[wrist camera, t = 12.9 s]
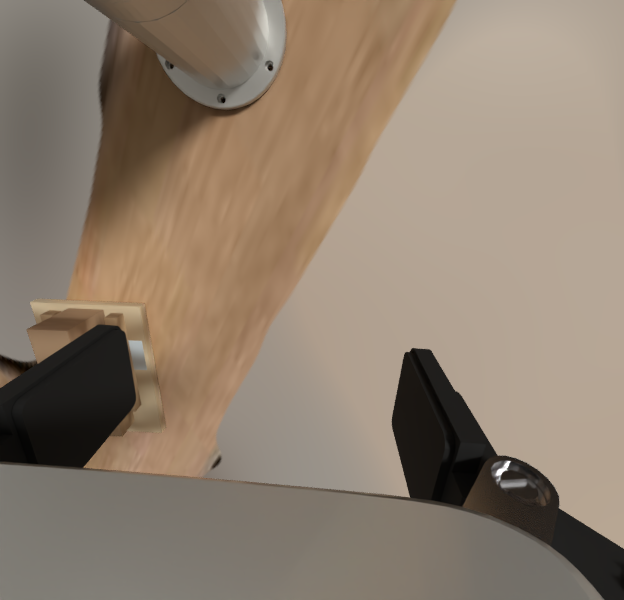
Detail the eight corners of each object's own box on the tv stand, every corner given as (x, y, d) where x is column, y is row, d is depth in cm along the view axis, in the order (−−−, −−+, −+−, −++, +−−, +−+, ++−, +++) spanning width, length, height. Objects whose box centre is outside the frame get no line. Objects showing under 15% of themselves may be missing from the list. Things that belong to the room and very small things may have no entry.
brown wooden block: (68, 308, 40) (26, 329, 35) (103, 309, 40) (67, 331, 35) (92, 399, 45) (59, 431, 40) (123, 401, 45) (95, 433, 40)
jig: (38, 298, 41) (7, 311, 37) (144, 303, 41) (125, 316, 37) (75, 422, 49) (53, 443, 45) (166, 427, 48) (151, 449, 44)
